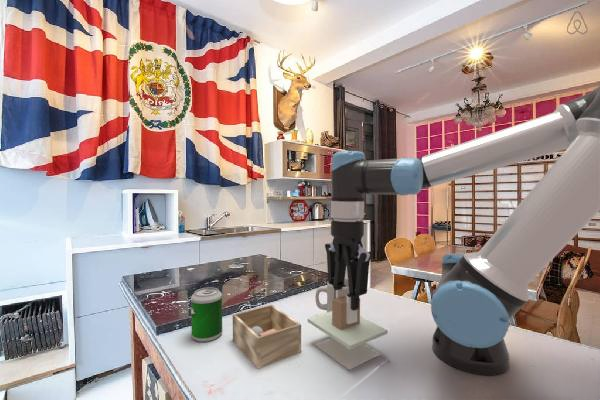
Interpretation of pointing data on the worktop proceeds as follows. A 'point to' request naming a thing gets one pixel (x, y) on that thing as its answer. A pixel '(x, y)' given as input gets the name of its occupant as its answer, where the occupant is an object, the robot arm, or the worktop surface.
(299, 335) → the crate
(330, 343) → the pad
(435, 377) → the worktop surface
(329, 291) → the mug
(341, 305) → the lid
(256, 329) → the ball
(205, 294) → the soda can
